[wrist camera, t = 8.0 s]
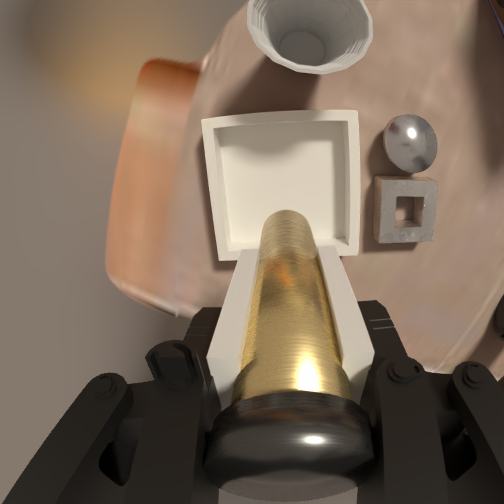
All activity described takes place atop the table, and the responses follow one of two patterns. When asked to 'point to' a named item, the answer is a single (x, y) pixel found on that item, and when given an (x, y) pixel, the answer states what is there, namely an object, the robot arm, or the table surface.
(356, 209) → the tray
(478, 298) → the table surface
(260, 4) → the plastic cup
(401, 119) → the bracket
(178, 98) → the table surface
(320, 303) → the lock pin
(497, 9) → the cereal box
